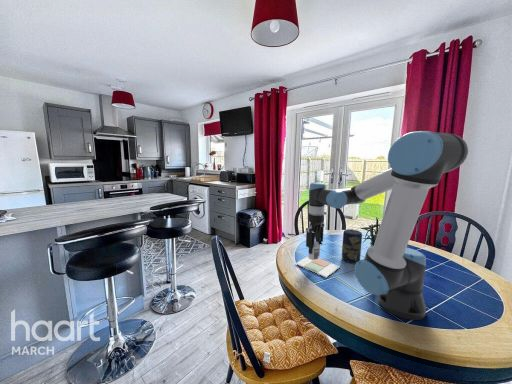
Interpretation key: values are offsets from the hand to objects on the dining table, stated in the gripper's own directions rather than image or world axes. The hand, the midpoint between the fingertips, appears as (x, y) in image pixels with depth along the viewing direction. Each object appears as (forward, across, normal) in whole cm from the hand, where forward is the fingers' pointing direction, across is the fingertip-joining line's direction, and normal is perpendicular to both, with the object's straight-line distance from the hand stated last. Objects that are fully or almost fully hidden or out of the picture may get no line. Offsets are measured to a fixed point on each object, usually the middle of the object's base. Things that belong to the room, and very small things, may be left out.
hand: (314, 257), depth 107 cm
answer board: (+6, -3, 0) cm, 7 cm away
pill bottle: (+1, 0, 0) cm, 1 cm away
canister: (+7, -23, +9) cm, 26 cm away
